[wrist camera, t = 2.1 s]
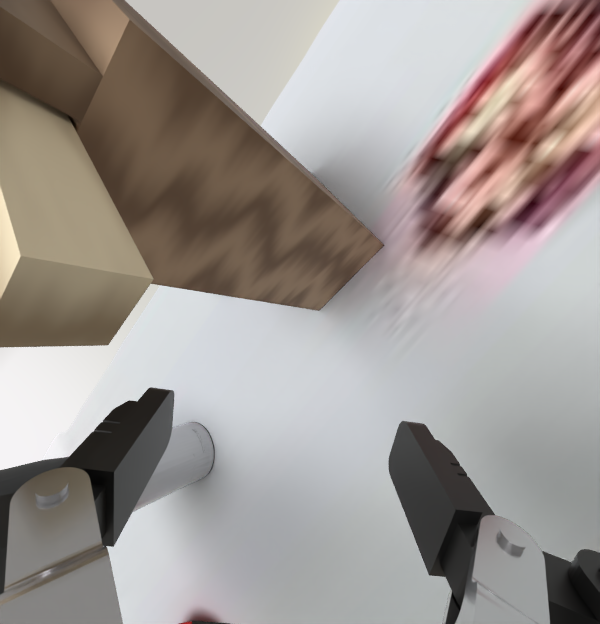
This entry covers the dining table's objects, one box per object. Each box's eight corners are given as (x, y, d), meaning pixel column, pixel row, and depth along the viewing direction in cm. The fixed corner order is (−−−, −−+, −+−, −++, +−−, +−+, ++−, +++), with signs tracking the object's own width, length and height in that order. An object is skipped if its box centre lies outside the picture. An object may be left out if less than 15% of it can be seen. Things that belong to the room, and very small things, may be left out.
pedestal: (318, 310, 43) (-79, 246, 13) (260, 236, 49) (-96, 77, 19) (384, 245, 38) (23, -75, 9) (311, 173, 45) (-42, -154, 15)
